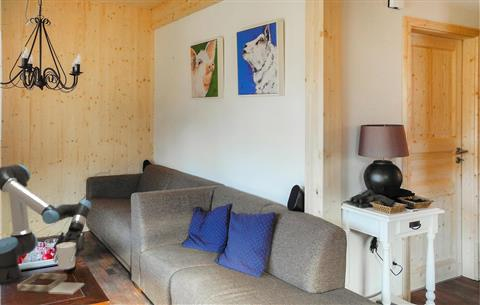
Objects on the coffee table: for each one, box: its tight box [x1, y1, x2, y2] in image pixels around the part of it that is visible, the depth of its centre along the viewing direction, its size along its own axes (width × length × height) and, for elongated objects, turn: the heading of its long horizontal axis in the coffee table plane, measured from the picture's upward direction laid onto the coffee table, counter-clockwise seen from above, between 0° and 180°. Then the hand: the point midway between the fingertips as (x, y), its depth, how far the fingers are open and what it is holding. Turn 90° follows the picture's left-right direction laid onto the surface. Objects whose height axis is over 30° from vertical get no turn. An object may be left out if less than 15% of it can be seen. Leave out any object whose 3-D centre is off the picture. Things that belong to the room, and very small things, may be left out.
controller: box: [63, 259, 77, 274], centre depth 248 cm, size 4×12×10 cm, turn 57°
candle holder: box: [56, 241, 77, 270], centre depth 222 cm, size 10×10×12 cm
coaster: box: [48, 281, 85, 296], centre depth 223 cm, size 13×13×1 cm
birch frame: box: [16, 272, 68, 293], centre depth 229 cm, size 18×18×3 cm
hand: (63, 261), depth 219 cm, fingers closed on candle holder, 9 cm apart
